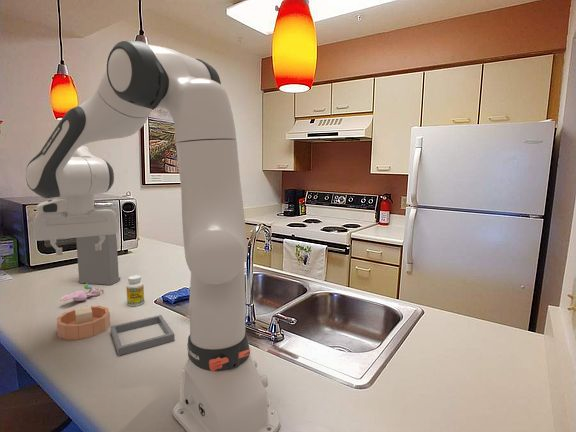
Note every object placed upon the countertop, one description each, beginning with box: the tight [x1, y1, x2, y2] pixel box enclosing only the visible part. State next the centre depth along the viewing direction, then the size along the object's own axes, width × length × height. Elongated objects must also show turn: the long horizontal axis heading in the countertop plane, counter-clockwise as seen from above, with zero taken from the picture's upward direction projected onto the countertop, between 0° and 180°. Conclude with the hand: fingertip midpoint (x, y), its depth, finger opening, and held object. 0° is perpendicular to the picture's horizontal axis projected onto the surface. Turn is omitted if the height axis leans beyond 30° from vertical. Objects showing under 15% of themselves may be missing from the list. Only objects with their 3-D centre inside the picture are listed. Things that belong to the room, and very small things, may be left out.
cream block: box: [74, 305, 93, 324], centre depth 97 cm, size 5×4×4 cm
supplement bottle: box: [126, 274, 145, 307], centre depth 115 cm, size 5×5×10 cm
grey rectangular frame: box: [109, 314, 175, 357], centre depth 93 cm, size 14×14×2 cm
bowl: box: [56, 305, 111, 341], centre depth 97 cm, size 13×13×4 cm
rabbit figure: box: [59, 283, 105, 302], centre depth 117 cm, size 6×6×15 cm
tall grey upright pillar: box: [75, 233, 121, 286], centre depth 133 cm, size 14×6×25 cm, turn 84°
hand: (79, 252), depth 94 cm, fingers open, 8 cm apart
